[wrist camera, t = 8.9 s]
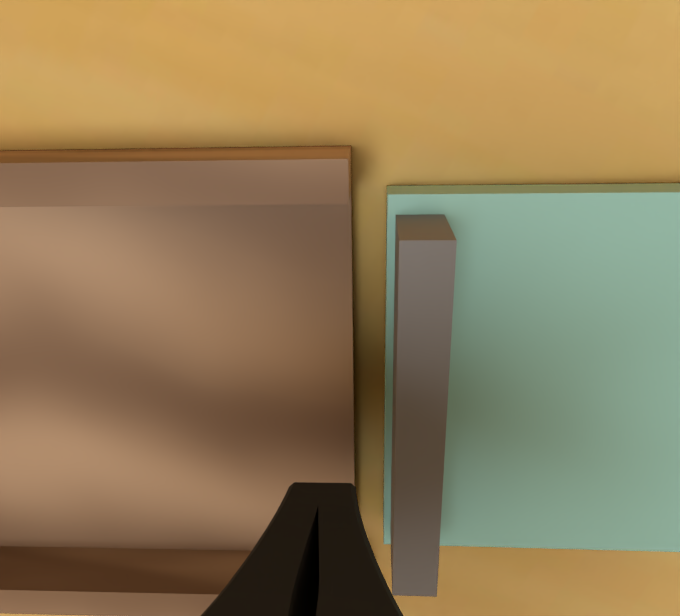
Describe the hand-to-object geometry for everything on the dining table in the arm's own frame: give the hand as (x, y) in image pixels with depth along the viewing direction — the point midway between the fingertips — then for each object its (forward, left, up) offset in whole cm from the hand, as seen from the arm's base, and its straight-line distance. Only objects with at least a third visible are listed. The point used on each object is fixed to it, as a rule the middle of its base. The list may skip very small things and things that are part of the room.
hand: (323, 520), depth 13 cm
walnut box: (0, +7, -6) cm, 9 cm away
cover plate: (+1, -8, -6) cm, 10 cm away
